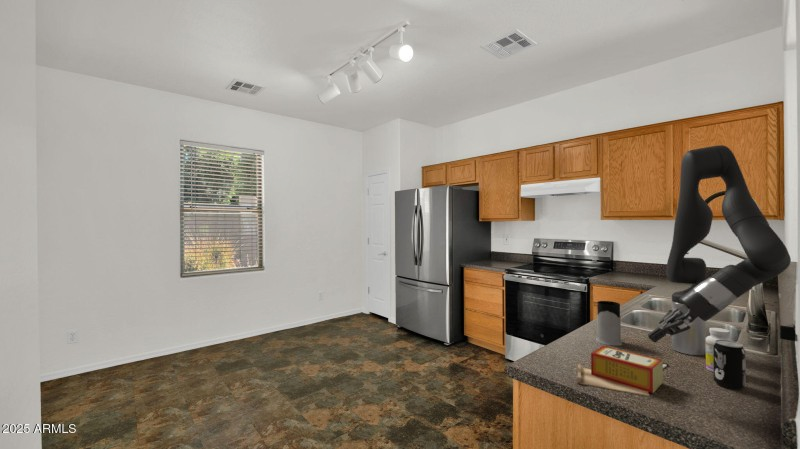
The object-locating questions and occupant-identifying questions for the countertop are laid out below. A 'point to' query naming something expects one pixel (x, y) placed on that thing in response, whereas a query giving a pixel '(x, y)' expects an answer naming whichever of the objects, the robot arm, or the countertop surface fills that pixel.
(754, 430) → the countertop surface
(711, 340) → the supplement bottle
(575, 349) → the countertop surface
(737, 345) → the beverage can
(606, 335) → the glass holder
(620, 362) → the baking soda box
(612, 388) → the wooden board
